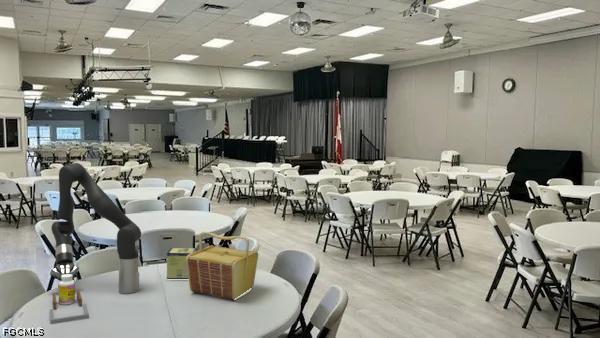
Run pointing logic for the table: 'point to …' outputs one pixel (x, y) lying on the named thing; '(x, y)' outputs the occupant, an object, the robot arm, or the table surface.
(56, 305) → the walnut dock
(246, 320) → the table surface
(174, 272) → the protein box
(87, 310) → the grey flat square frame
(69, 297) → the supplement bottle
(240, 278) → the picnic basket
